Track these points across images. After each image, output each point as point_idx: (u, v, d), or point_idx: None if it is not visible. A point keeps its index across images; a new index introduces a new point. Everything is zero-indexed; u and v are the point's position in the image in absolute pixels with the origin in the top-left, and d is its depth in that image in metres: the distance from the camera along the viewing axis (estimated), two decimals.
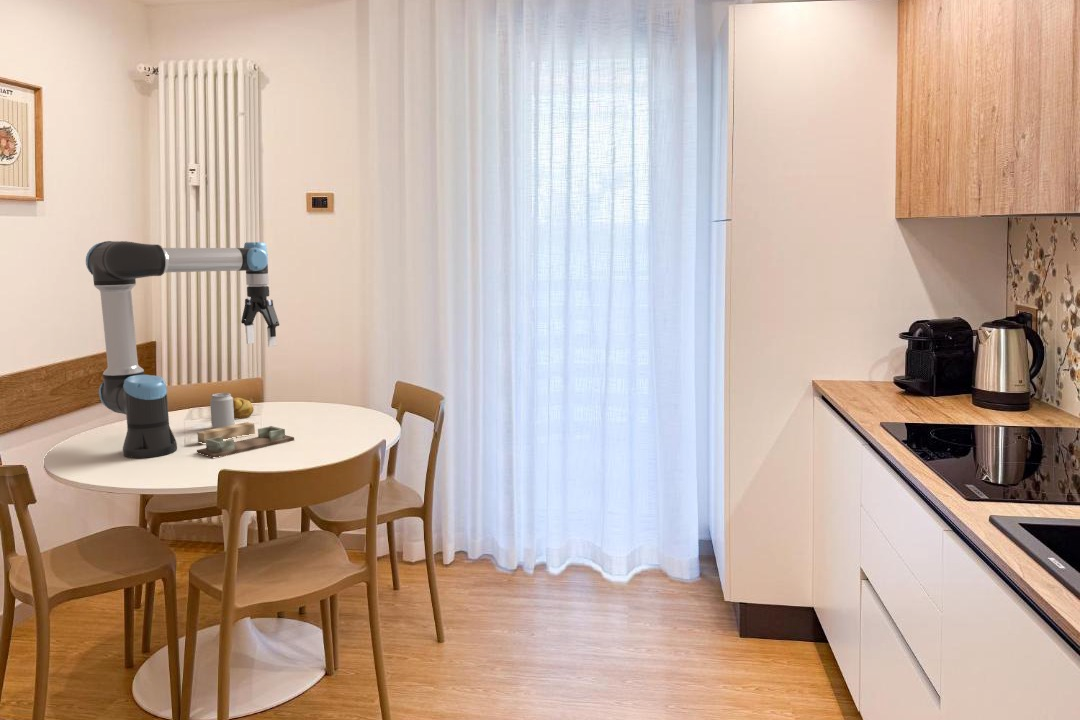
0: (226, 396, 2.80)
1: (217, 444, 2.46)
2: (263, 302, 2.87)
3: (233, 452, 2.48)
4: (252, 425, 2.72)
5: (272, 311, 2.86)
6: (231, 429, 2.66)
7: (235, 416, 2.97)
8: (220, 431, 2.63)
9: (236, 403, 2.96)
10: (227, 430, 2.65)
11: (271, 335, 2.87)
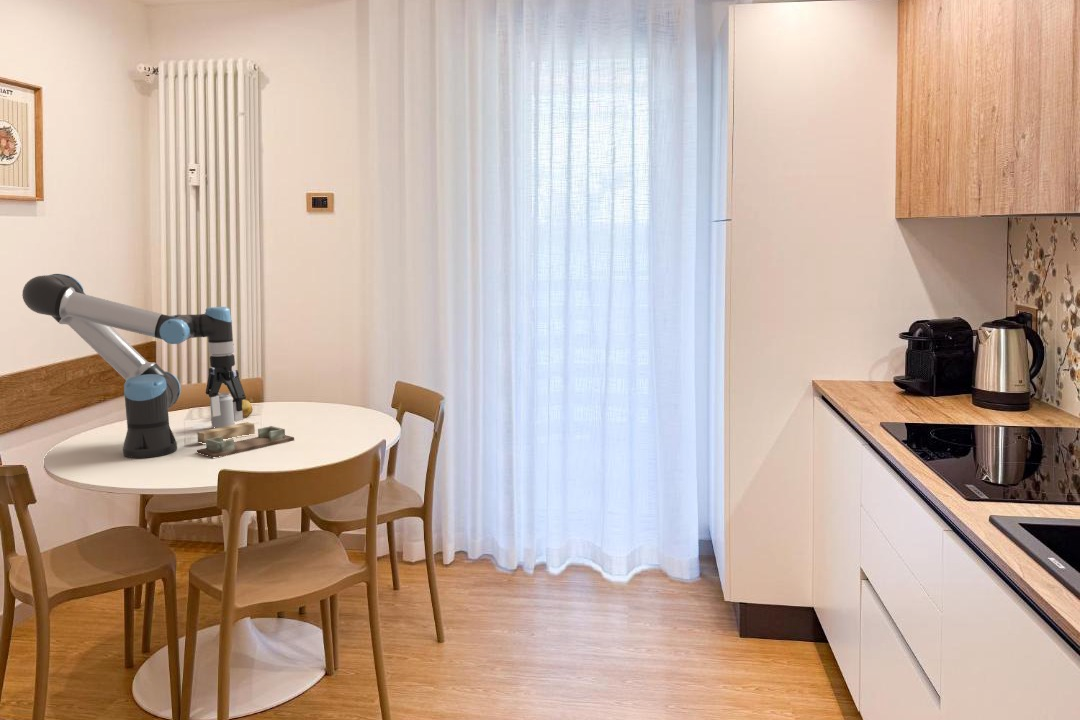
0: (226, 396, 2.80)
1: (217, 444, 2.46)
2: (228, 373, 2.61)
3: (233, 452, 2.48)
4: (252, 425, 2.72)
5: (237, 383, 2.60)
6: (231, 429, 2.66)
7: None
8: (220, 431, 2.63)
9: None
10: (227, 430, 2.65)
11: (237, 409, 2.61)
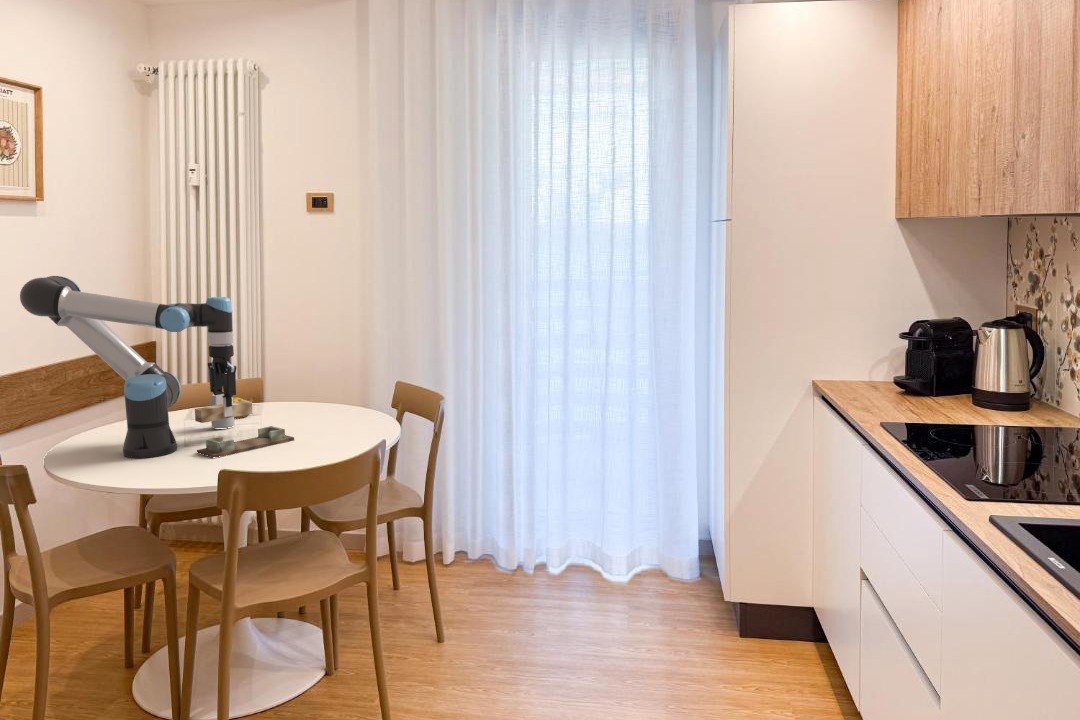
0: None
1: (217, 444, 2.46)
2: (226, 365, 2.61)
3: (233, 452, 2.48)
4: (250, 403, 2.71)
5: (232, 379, 2.61)
6: None
7: None
8: (217, 408, 2.62)
9: None
10: None
11: (227, 405, 2.63)
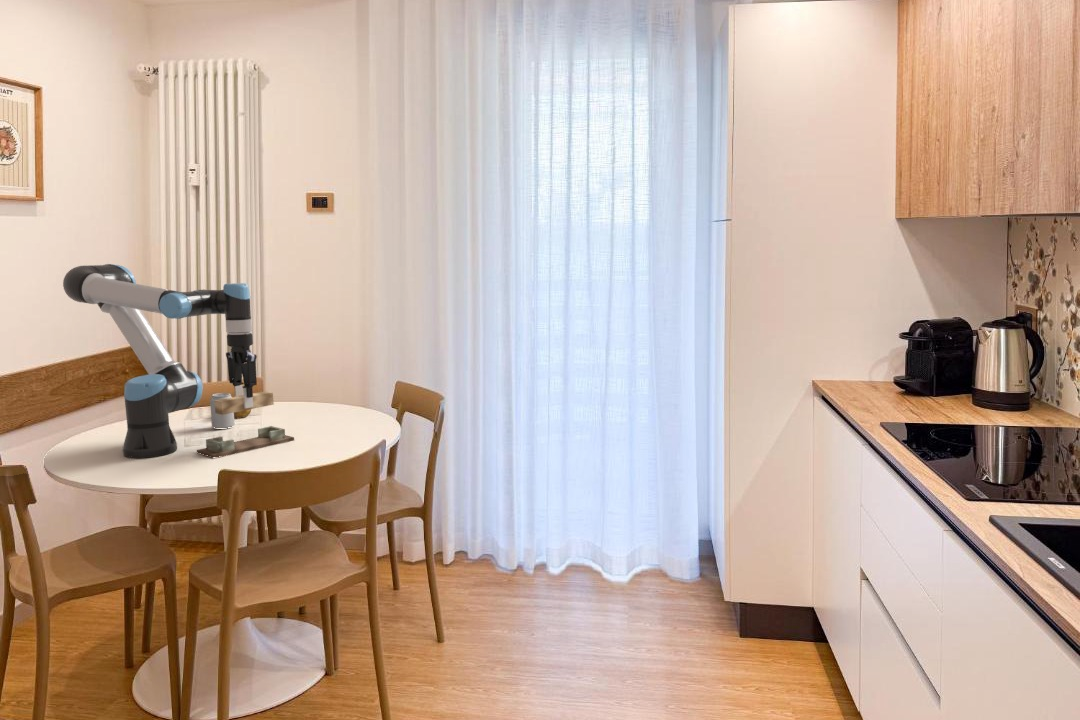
0: (226, 396, 2.80)
1: (217, 444, 2.46)
2: (245, 354, 2.50)
3: (233, 452, 2.48)
4: (271, 394, 2.60)
5: (253, 368, 2.50)
6: None
7: None
8: (238, 399, 2.51)
9: None
10: None
11: (247, 396, 2.52)
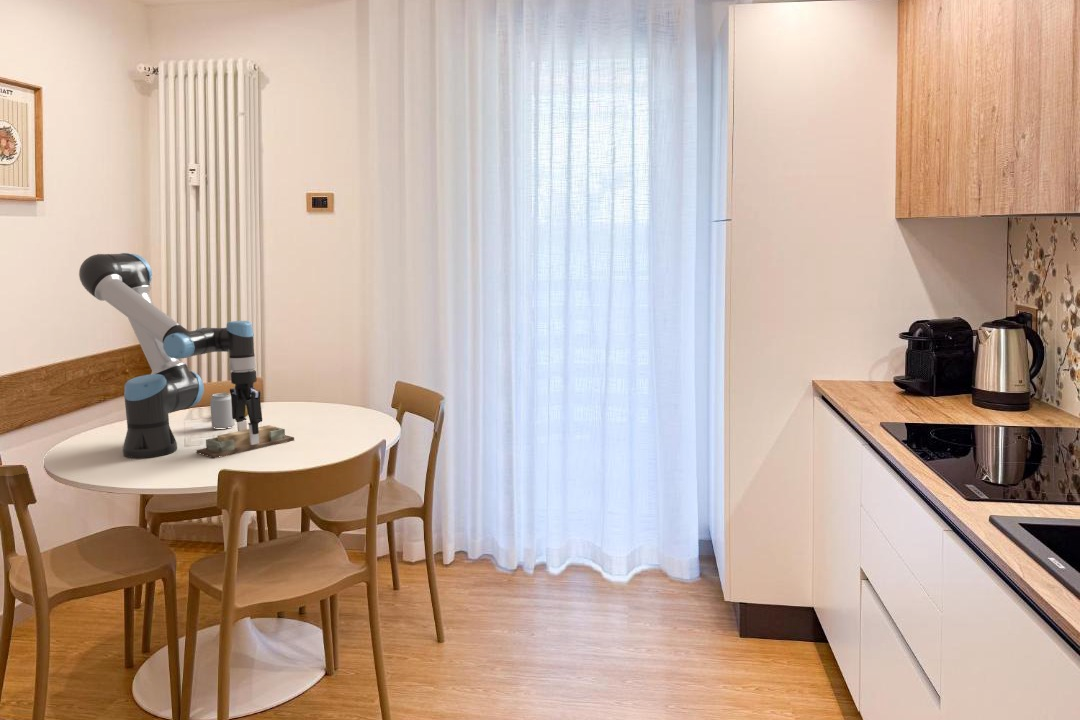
0: (226, 396, 2.80)
1: (217, 444, 2.46)
2: (249, 391, 2.51)
3: (233, 452, 2.48)
4: (274, 428, 2.61)
5: (257, 405, 2.51)
6: None
7: None
8: (241, 435, 2.52)
9: None
10: (248, 433, 2.54)
11: (253, 432, 2.53)
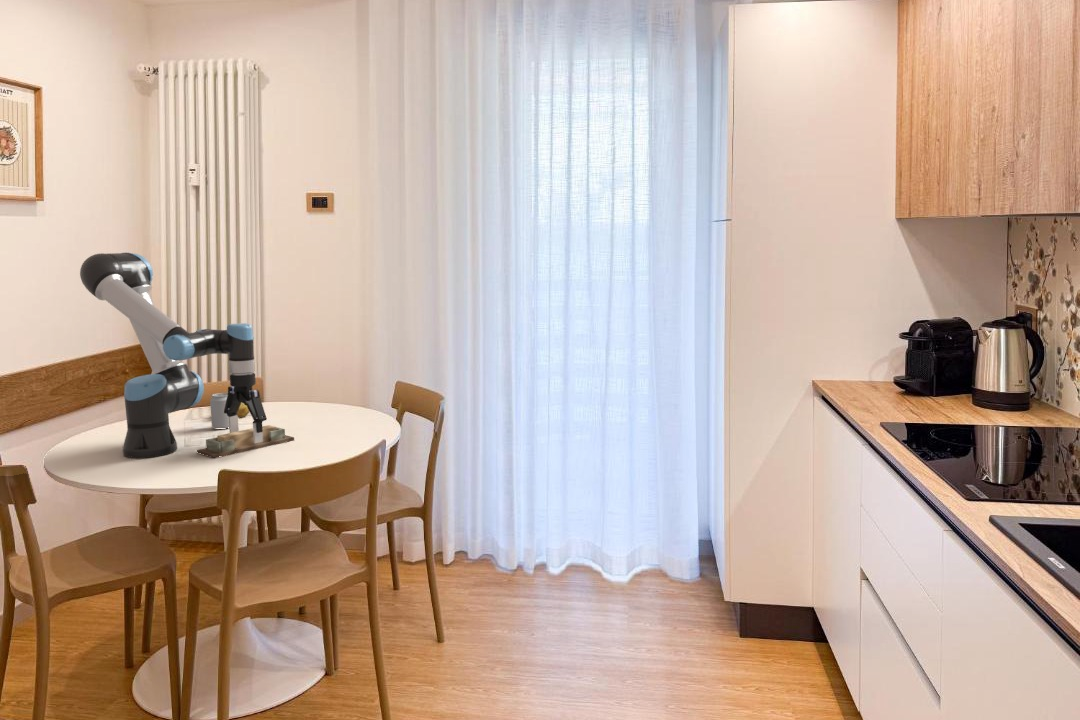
0: (226, 396, 2.80)
1: (217, 444, 2.46)
2: (248, 393, 2.51)
3: (233, 452, 2.48)
4: (274, 428, 2.61)
5: (258, 403, 2.50)
6: (252, 432, 2.55)
7: None
8: (241, 435, 2.52)
9: None
10: (248, 433, 2.54)
11: (257, 431, 2.51)
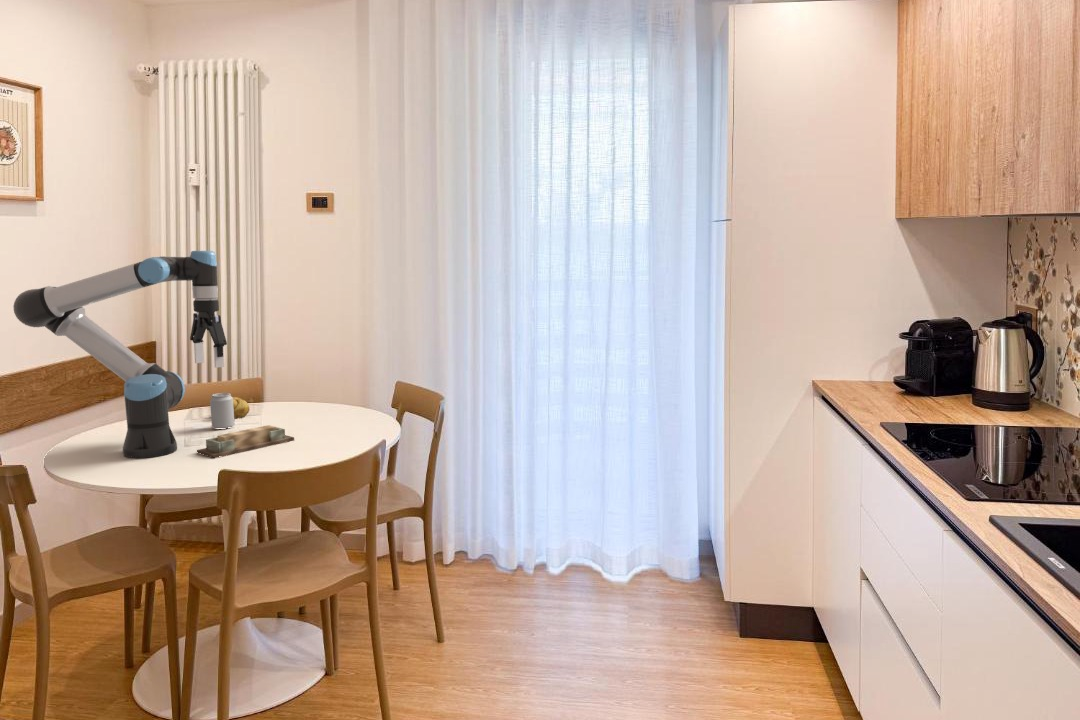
0: (226, 396, 2.80)
1: (217, 444, 2.46)
2: (210, 318, 2.57)
3: (233, 452, 2.48)
4: (274, 428, 2.61)
5: (219, 328, 2.55)
6: (252, 432, 2.55)
7: None
8: (241, 435, 2.52)
9: None
10: (248, 433, 2.54)
11: (218, 355, 2.56)
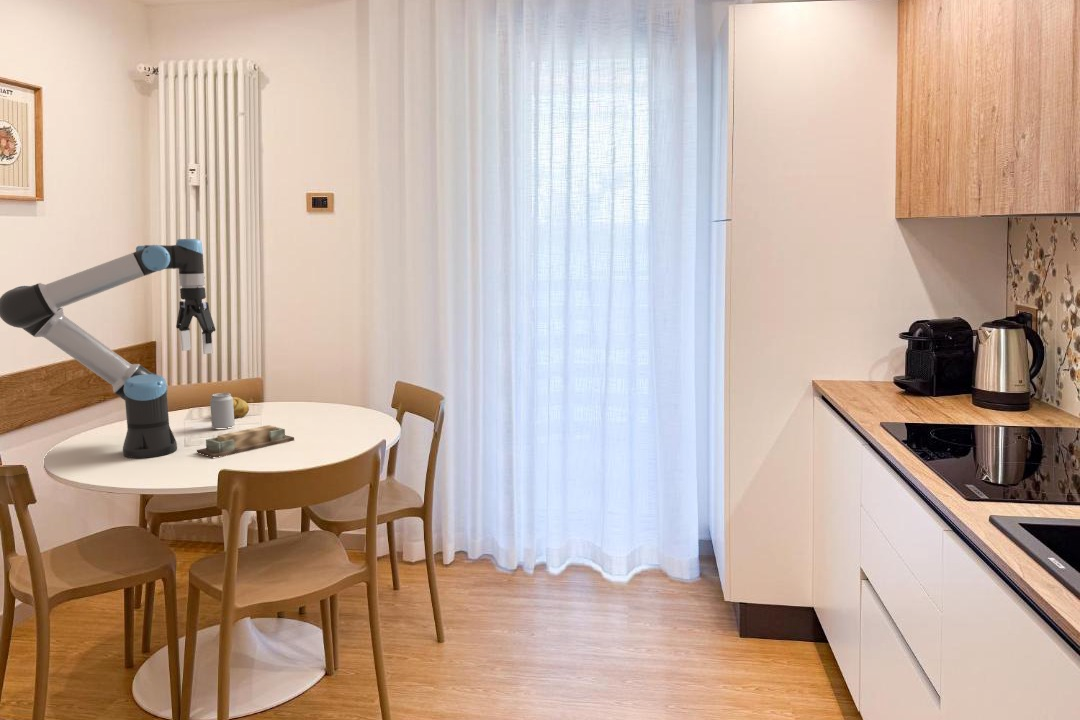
0: (226, 396, 2.80)
1: (217, 444, 2.46)
2: (198, 305, 2.60)
3: (233, 452, 2.48)
4: (274, 428, 2.61)
5: (207, 315, 2.59)
6: (252, 432, 2.55)
7: None
8: (241, 435, 2.52)
9: None
10: (248, 433, 2.54)
11: (206, 341, 2.60)
